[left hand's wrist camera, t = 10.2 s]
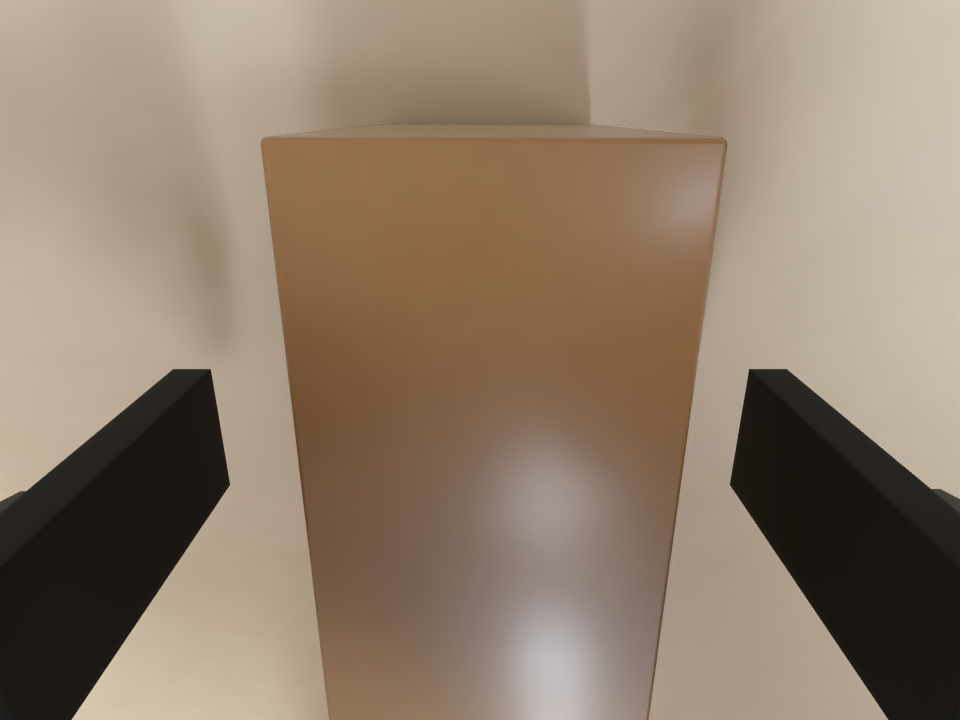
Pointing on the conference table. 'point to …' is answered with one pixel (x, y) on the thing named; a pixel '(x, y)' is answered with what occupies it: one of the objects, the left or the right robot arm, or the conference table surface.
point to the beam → (491, 405)
